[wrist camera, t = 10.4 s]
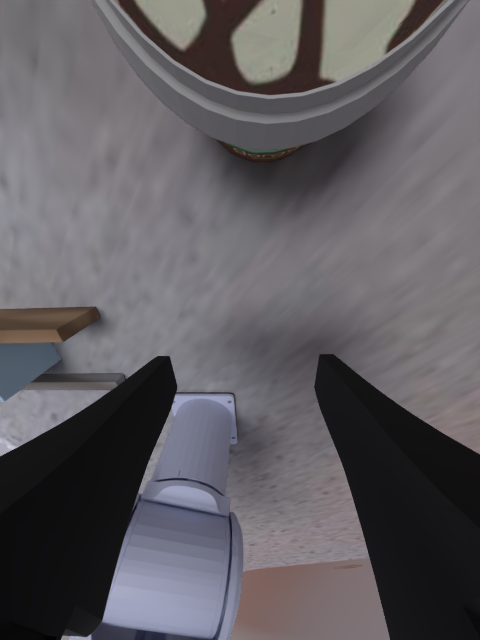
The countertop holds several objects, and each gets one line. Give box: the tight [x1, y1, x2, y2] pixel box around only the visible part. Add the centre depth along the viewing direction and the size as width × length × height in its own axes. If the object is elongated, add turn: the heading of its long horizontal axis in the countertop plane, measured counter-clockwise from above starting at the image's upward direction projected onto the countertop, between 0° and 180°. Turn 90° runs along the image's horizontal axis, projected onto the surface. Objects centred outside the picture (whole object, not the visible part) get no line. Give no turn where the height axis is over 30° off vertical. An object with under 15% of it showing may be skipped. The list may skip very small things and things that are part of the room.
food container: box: [91, 0, 469, 162], centre depth 9 cm, size 12×6×10 cm, turn 106°
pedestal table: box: [0, 307, 125, 390], centre depth 20 cm, size 10×16×4 cm, turn 93°
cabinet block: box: [0, 342, 61, 401], centre depth 20 cm, size 6×5×6 cm
